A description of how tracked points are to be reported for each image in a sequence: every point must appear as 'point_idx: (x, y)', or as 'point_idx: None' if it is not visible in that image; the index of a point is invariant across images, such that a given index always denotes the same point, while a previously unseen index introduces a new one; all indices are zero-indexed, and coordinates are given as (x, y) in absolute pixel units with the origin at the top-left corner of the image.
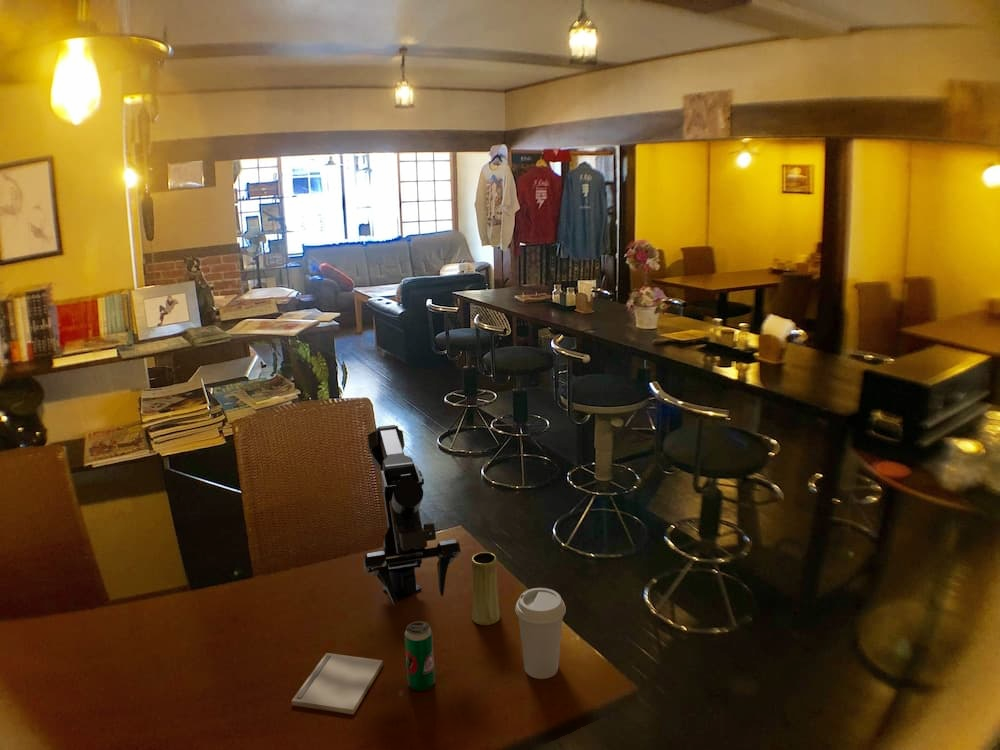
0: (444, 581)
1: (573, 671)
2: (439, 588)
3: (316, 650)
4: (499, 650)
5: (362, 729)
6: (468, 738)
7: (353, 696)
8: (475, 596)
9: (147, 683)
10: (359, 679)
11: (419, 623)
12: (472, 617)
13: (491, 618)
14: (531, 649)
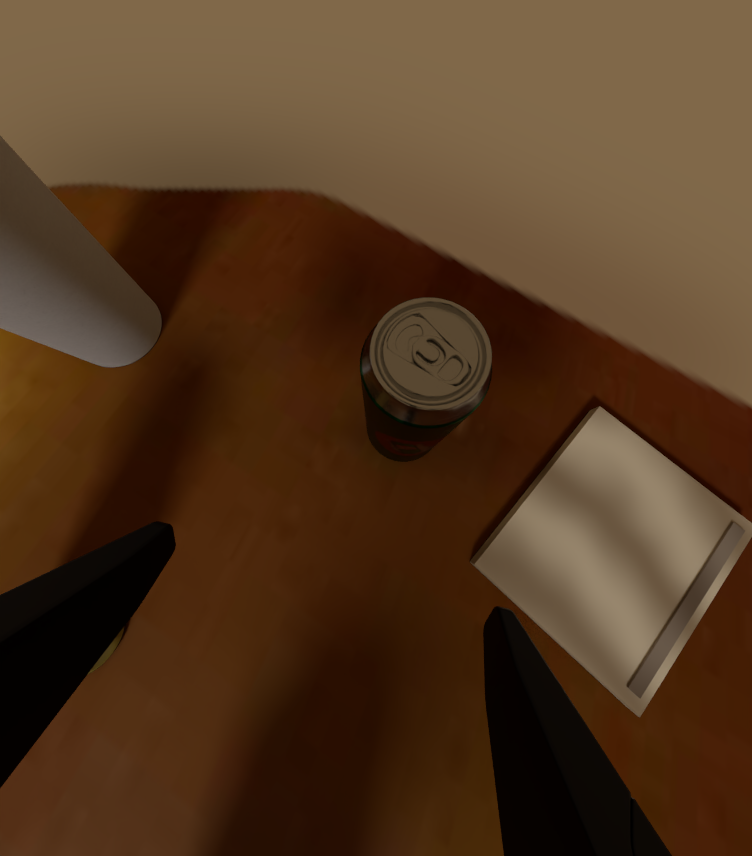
0: (31, 581)
1: None
2: (131, 598)
3: (655, 773)
4: (156, 442)
5: (578, 355)
6: (383, 230)
7: (589, 453)
8: None
9: None
10: (560, 513)
11: (409, 381)
12: (116, 637)
13: None
14: (93, 240)
